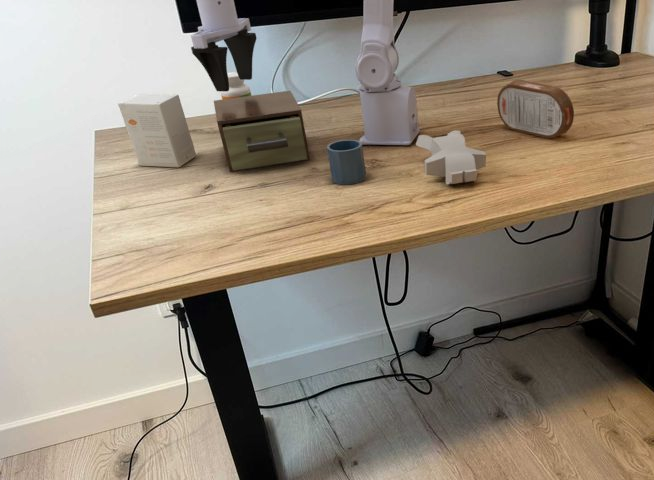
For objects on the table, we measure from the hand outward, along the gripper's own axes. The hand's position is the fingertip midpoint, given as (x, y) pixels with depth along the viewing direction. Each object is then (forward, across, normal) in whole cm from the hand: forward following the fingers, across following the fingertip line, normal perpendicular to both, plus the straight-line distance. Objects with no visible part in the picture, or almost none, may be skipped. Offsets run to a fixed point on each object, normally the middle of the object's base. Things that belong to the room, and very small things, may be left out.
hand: (234, 84), depth 113 cm
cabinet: (+10, +5, +6) cm, 13 cm away
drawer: (+9, +9, +9) cm, 16 cm away
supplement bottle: (+10, -8, -6) cm, 15 cm away
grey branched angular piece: (+10, +8, +41) cm, 43 cm away
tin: (+10, -12, +50) cm, 53 cm away
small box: (+10, +11, -9) cm, 18 cm away
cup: (+10, +13, +26) cm, 31 cm away
